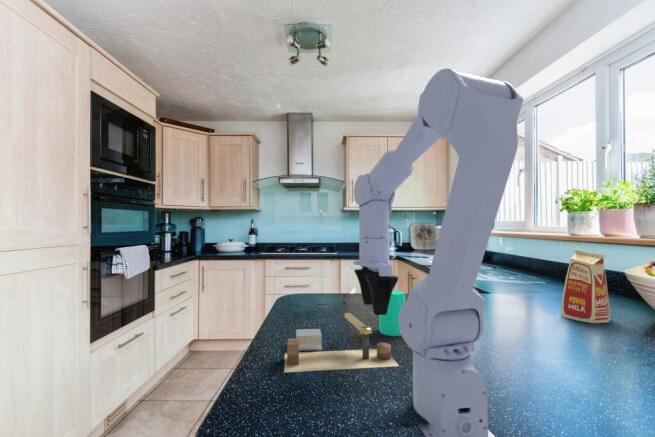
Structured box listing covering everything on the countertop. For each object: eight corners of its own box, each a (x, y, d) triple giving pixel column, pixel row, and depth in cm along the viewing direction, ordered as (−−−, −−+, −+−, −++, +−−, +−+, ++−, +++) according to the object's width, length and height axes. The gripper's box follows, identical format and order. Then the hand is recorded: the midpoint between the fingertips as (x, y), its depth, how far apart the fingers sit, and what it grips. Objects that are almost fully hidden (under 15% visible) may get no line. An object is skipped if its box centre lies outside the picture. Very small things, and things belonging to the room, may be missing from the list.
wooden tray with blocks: (399, 372, 53) (399, 341, 54) (284, 379, 51) (284, 346, 51) (385, 354, 61) (384, 326, 61) (284, 359, 59) (285, 330, 59)
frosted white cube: (321, 356, 61) (321, 335, 61) (296, 357, 60) (296, 336, 60) (319, 348, 65) (319, 328, 65) (296, 349, 64) (296, 329, 64)
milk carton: (560, 316, 89) (558, 248, 90) (578, 313, 93) (576, 247, 94) (598, 325, 81) (596, 250, 82) (616, 320, 85) (613, 249, 86)
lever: (362, 335, 56) (362, 330, 56) (342, 317, 67) (342, 313, 67) (373, 334, 56) (373, 329, 56) (351, 316, 68) (351, 312, 68)
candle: (406, 342, 68) (405, 288, 69) (379, 340, 69) (378, 287, 70) (404, 333, 74) (404, 283, 75) (379, 331, 75) (379, 283, 76)
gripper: (346, 237, 66) (346, 301, 65) (362, 239, 51) (363, 320, 51) (378, 237, 66) (378, 300, 66) (403, 238, 52) (403, 319, 51)
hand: (374, 309), depth 58 cm, fingers open, 7 cm apart
